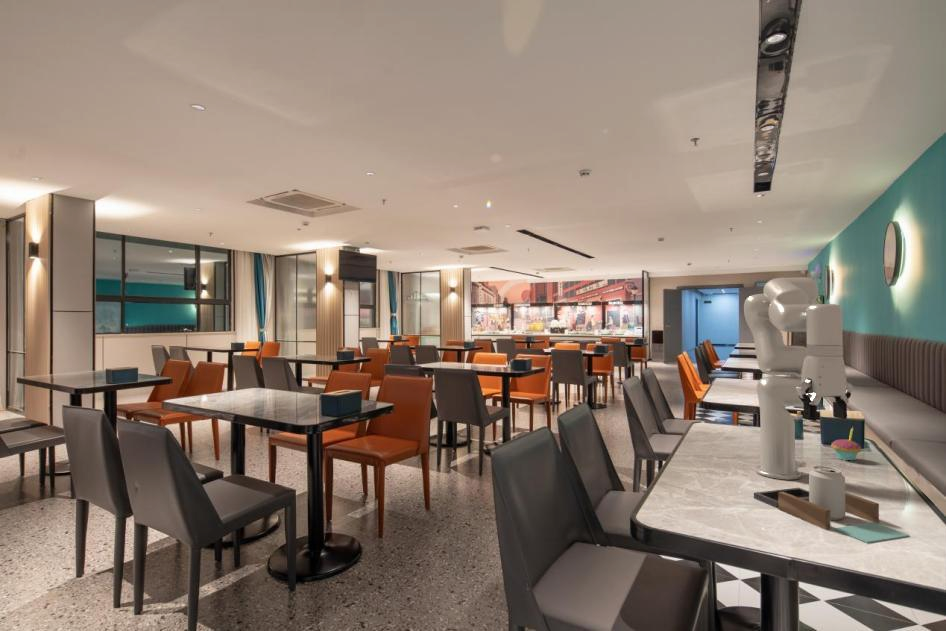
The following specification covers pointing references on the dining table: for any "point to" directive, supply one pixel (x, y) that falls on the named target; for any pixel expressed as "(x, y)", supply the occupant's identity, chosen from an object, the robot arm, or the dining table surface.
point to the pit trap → (772, 496)
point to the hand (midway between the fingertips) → (825, 419)
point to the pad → (871, 532)
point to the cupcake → (846, 448)
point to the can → (828, 490)
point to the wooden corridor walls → (821, 514)
